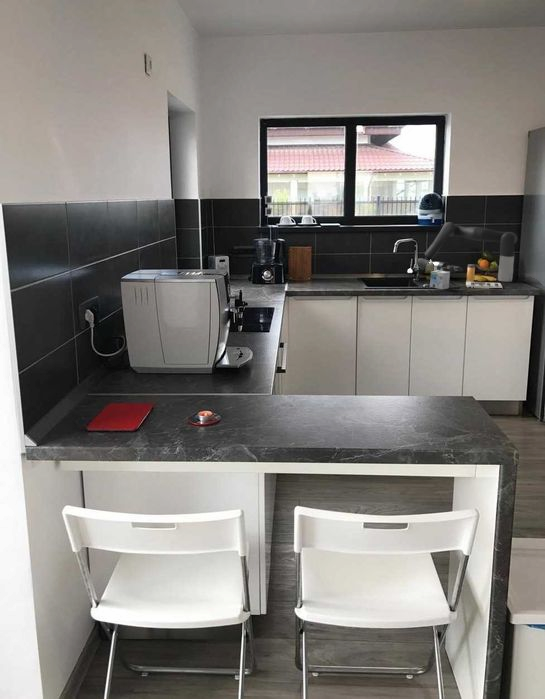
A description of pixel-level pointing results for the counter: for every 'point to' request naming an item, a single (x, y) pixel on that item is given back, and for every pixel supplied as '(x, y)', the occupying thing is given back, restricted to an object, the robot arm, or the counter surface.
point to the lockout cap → (470, 273)
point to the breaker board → (483, 285)
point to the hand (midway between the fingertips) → (458, 270)
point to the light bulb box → (439, 279)
